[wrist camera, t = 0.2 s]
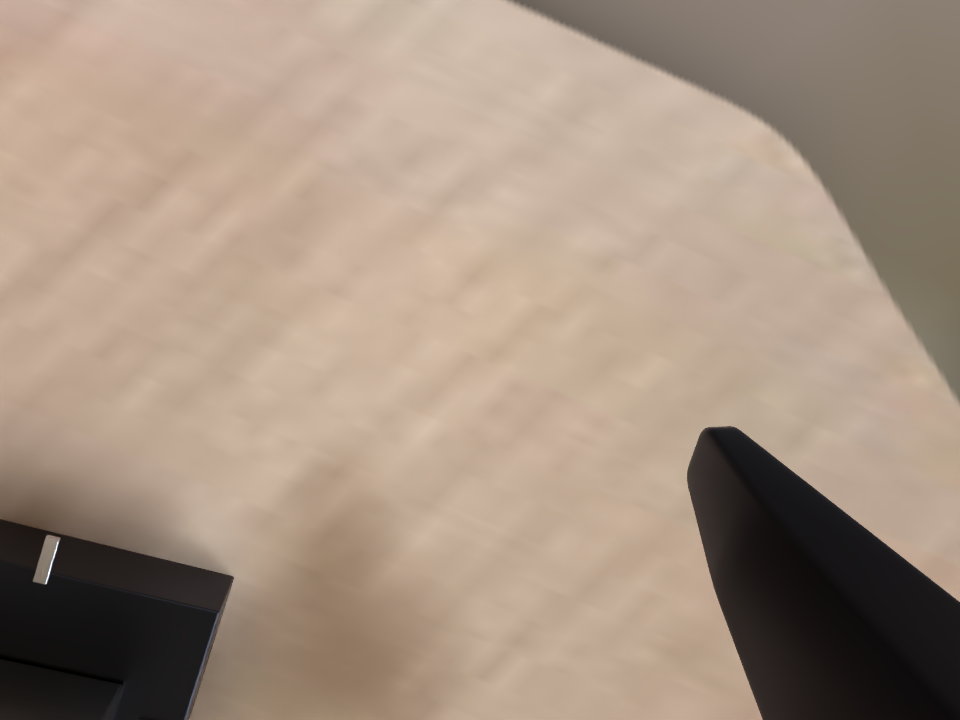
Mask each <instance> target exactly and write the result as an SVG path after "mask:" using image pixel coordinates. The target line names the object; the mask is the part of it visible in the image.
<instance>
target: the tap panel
mask: <svg viewBox="0 0 960 720" xmlns="http://www.w3.org/2000/svg"><path fill="white" fill-rule="evenodd" d="M233 580H234V577H233V576H229V575H225V574H221V573H217V572H213V571H209V570H205V569H201V568H197V567H192V566H188V565H184V564H180V563H176V562H172V561H168V560H164V559H160V558H156V557H152V556H147V555H143V554H139V553H135V552H131V551H127V550H123V549H119V548H115V547H111V546H107V545H102V544H98V543H94V542H90V541H86V540H82V539H78V538H74V537H70V536H66V535H62V534H57V533H53V532H49V531H45V530H41V529H37V528H33V527H29V526H25V525H21V524H17V523H12V522H8V521H4V520H0V659H3V660H8V661H13V662H17V663H22V664H27V665H32V666H36V667H41V668H46V669H51V670H55V671H60V672H65V673H70V674H74V675H79V676H84V677H89V678H94V679H98V680H103V681H108V682H113V683H117V684H121V685H122V691H121V694H120V698H119V701H118V704H117V707H116V711H115V714H114V717H113V720H189V718H190V715H191V712H192V709H193V705H194V702H195V699H196V696H197V693H198V690H199V687H200V683H201V680H202V677H203V674H204V671H205V668H206V665H207V661H208V658H209V655H210V652H211V649H212V646H213V643H214V639H215V636H216V633H217V630H218V627H219V624H220V620H221V617H222V614H223V611H224V608H225V605H226V602H227V598H228V595H229V592H230V589H231V586H232V583H233Z"/></svg>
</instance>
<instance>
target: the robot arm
mask: <svg viewBox="0 0 960 720" xmlns="http://www.w3.org/2000/svg"><path fill="white" fill-rule="evenodd" d="M687 482H688V488H689V492H690V496H691V500H692V504H693V507H694V511H695V515H696V519H697V523H698V527H699V531H700V535H701V539H702V543H703V547H704V551H705V555H706V559H707V563H708V567H709V571H710V575H711V578H712V582H713V586H714V589H715V592H716V595H717V598H718V601H719V604H720V606H721V609H722V612H723V614H724V617H725V620H726V622H727V625H728V628H729V630H730V633H731V636H732V638H733V641H734V644H735V646H736V649H737V652H738V654H739V657H740V660H741V663H742V665H743V668H744V671H745V673H746V676H747V679H748V681H749V684H750V687H751V689H752V692H753V695H754V697H755V700H756V703H757V705H758V708H759V711H760V713H761V716H762V719H763V720H960V602H959V601H957V600H956V599H955V598H954V597H952V596H951V595H950V594H949V593H947V592H946V591H945V590H943V589H942V588H941V587H940V586H938V585H937V584H936V583H934V582H933V581H932V580H931V579H929V578H928V577H927V576H926V575H924V574H923V573H922V572H920V571H919V570H918V569H917V568H915V567H914V566H913V565H911V564H910V563H909V562H908V561H906V560H905V559H904V558H903V557H901V556H900V555H899V554H897V553H896V552H895V551H894V550H892V549H891V548H890V547H888V546H887V545H886V544H885V543H883V542H882V541H881V540H880V539H878V538H877V537H876V536H874V535H873V534H872V533H871V532H869V531H868V530H867V529H865V528H864V527H863V526H862V525H860V524H859V523H858V522H857V521H855V520H854V519H853V518H851V517H850V516H849V515H848V514H846V513H845V512H844V511H843V510H841V509H840V508H839V507H837V506H836V505H835V504H834V503H832V502H831V501H830V500H828V499H827V498H826V497H825V496H823V495H822V494H821V493H820V492H818V491H817V490H816V489H814V488H813V487H812V486H811V485H809V484H808V483H807V482H805V481H804V480H803V479H802V478H800V477H799V476H798V475H797V474H795V473H794V472H793V471H791V470H790V469H789V468H788V467H786V466H785V465H784V464H782V463H781V462H780V461H779V460H777V459H776V458H775V457H774V456H772V455H771V454H770V453H768V452H767V451H766V450H765V449H763V448H762V447H761V446H759V445H758V444H757V443H756V442H754V441H753V440H752V439H751V438H749V437H748V436H747V435H745V434H744V433H743V432H742V431H740V430H739V429H737V428H735V427H731V426H727V427H708V428H705V429H704V430H703V431H702V432H701V434H700V436H699V439H698V441H697V444H696V447H695V450H694V453H693V455H692V458H691V461H690V464H689V467H688V472H687Z"/></svg>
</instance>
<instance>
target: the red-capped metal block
mask: <svg viewBox="0 0 960 720" xmlns="http://www.w3.org/2000/svg"><path fill="white" fill-rule="evenodd" d="M121 691H122V685H121V684H117V683H113V682H108V681H103V680H98V679H94V678H89V677H84V676H79V675H74V674H70V673H65V672H60V671H55V670H51V669H46V668H41V667H36V666H32V665H27V664H22V663H17V662H13V661H8V660H3V659H0V720H113V717H114V714H115V711H116V707H117V704H118V701H119V698H120V694H121Z"/></svg>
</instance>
